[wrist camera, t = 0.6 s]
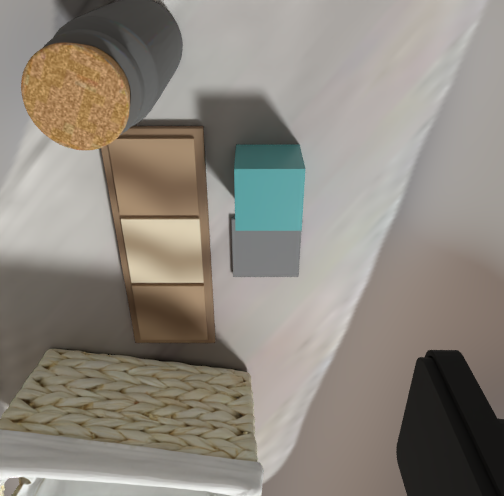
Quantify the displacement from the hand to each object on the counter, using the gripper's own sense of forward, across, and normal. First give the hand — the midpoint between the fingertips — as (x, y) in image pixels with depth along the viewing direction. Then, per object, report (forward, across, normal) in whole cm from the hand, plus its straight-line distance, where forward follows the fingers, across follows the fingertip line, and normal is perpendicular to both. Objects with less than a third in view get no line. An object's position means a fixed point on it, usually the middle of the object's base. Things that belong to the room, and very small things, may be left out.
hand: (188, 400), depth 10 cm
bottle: (+30, +7, -4) cm, 31 cm away
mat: (+30, -2, +14) cm, 33 cm away
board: (+30, +6, +14) cm, 34 cm away
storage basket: (+32, +10, +34) cm, 47 cm away
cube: (+30, -2, +6) cm, 31 cm away
